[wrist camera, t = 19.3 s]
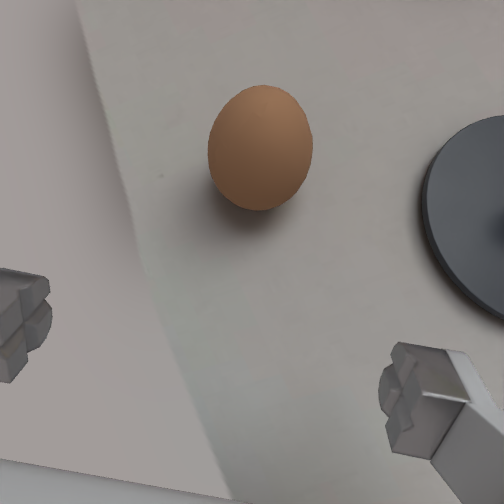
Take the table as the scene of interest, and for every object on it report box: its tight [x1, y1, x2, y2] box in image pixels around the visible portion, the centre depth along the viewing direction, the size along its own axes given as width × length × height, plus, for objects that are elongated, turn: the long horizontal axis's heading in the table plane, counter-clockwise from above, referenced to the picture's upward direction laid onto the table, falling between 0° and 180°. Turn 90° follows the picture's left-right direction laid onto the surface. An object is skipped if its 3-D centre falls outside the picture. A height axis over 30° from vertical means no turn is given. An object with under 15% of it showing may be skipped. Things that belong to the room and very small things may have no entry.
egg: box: [208, 85, 313, 211], centre depth 20 cm, size 5×5×8 cm
